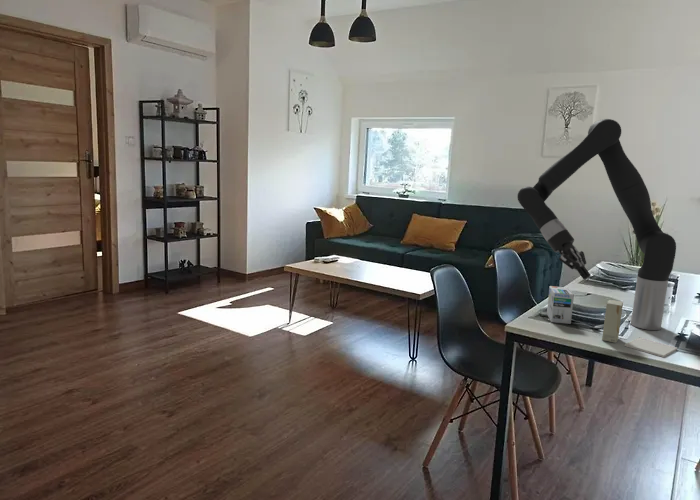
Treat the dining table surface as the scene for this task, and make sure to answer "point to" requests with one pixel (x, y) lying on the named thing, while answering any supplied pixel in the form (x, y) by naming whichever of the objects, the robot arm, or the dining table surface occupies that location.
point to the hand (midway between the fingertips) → (587, 277)
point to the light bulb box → (560, 304)
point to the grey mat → (651, 347)
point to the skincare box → (612, 321)
